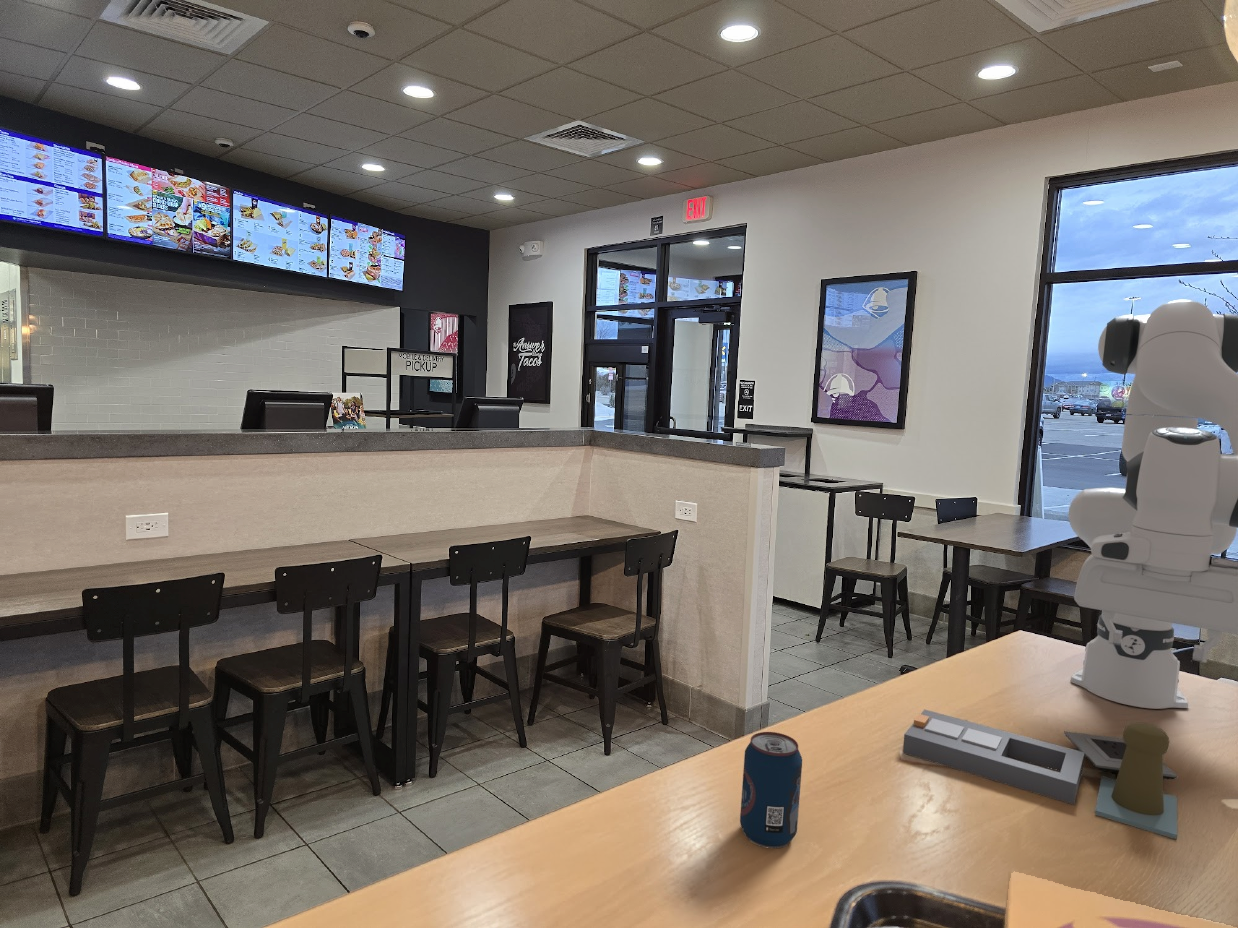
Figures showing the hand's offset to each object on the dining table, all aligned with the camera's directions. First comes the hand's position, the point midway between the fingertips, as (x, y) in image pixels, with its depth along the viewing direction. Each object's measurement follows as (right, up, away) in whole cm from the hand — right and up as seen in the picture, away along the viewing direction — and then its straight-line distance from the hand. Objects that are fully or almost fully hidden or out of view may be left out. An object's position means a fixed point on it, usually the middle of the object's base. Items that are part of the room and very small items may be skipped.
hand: (1156, 651), depth 105 cm
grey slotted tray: (-16, -20, +14) cm, 29 cm away
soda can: (-54, -21, -9) cm, 58 cm away
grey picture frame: (+3, -21, +14) cm, 25 cm away
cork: (-1, -22, +2) cm, 22 cm away
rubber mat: (-1, -22, +2) cm, 22 cm away
